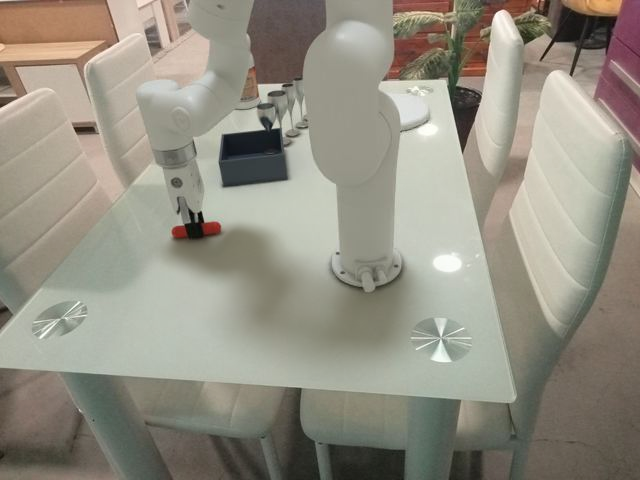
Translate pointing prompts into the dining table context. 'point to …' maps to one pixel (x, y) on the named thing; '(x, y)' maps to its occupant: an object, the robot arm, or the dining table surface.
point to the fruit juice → (250, 85)
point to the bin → (252, 157)
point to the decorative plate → (410, 110)
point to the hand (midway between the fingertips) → (197, 232)
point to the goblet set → (282, 108)
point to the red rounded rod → (207, 227)
